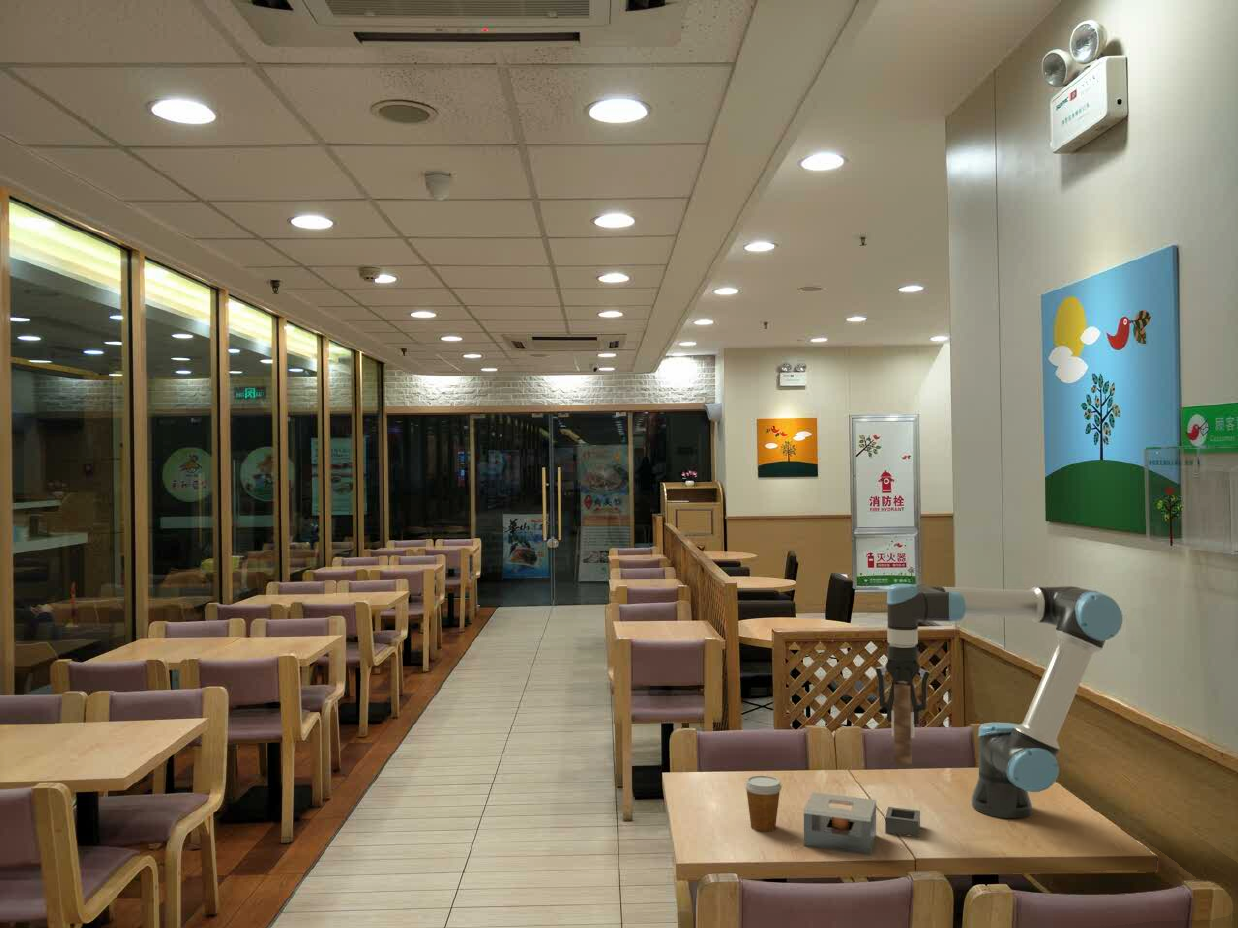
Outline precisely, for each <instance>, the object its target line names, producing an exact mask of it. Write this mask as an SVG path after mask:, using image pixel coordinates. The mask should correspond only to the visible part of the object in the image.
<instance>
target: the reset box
mask: <svg viewBox="0 0 1238 928" xmlns="http://www.w3.org/2000/svg"><path fill="white" fill-rule="evenodd" d="M831 804H835V805H844V806H851V809H846V808H845V809H844V808H836V807H830V805H831ZM831 817H837V818H845V819H850V830H844V829H837V828H831ZM876 837H877V799H872V798H871V799H870V798H864V797H863V798H862V797H853V796H846V795H839V794H837V795H836V794H831V793H830V794H829V793H821V792H815V791H813V792H811V794H810V797H809V799H808V800H807V802H806V804H805V806H804V808H803V847H810V848H816V849H817V848H818V849H825V850H830V851H831V850H832V851H838V852H839V851H840V852H845V853H852V854H860V855H865V856H866V855H867V856H871V855H872V852H873V848H874V844H875V842H876Z"/></svg>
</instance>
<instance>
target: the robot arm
mask: <svg viewBox="0 0 1238 928" xmlns="http://www.w3.org/2000/svg"><path fill="white" fill-rule="evenodd" d="M886 608H887V609H886V611H887V612H886V613H887V617H886V618H887V628H886V629H887V630H886V632H887V634H886V635H887V639H886V640H887V643H888V645H887V646H886V647H887V651H886V652H887V661H886V663H885V665H884V666H877V667H876V669H875V673H876V676H877V677H878V694H879V695H878V698H879V700H878V701H879V707H881V708H884V709H886V720H887V722H888V723H891V737H894V684H897V682H898V681H899V682H907V683H908V685H910V686H911V704H912V710H911V738H912V739H914V738H915V725H919V723H920V712H922V711H925V710H926V709H927V693H928V679H929V677H930V673H931V672H930V670H929V669H927V670H925V669H923V668H922V667H920V664H919V655H918V654H919V650H918V649H919V648H918V646H917V645H918V641H919V633H918V632H919V629H918V628H919V626H918V625H919V624H918V623H919V622H949V623H950V622H956V621H957V622H958V621H962V619H964V618H965V616H975V617H994V618H995V617H996V618H997V617H998V618H1013V619H1014V618H1015V619H1030V620H1031V621H1032V622H1033V623H1044V624H1047V625H1053V626H1055V630H1054V631H1055V635H1056V637H1057V642H1056V643H1055V646H1054V649H1053V650H1052V653H1051V656H1050V658H1049V660H1048V663H1047V665H1046V668H1045V670H1044V672H1043V674H1042V677H1041V679H1040V682H1039V684H1038V686H1037V689H1036V691H1035V694H1034V696H1033V698H1032V701H1031V703H1030V705H1029V708H1028V711H1027V712H1026V715H1025V716H1024V720H1023V722H1022V723H1021V724H1020V723H1019V724H1017V723H1010V722H985V723H983V724H981V725H980V726H979V727H978V735H977V738H978V741H977V742H978V746H977V748H978V752H977V753H978V779H977V782H976V785H975V787H974V790H973V792H972V796H971V807H972V808H973V809H974V810H976V812H977V811H978V812H980V813H982V814H984V815H987V816H992V817H997V818H1002V819H1022V818H1026V817H1030V816H1031V815H1032V811H1033V810H1032V808H1033V807H1032V802H1031V797H1030V796H1029V793H1040V792H1042V791H1045V790H1048V789H1049V788H1050V787H1052V786H1053V785H1054V784H1055V782H1056V781H1057V779H1058V777H1059V774H1060V773H1059V772H1060V768H1059V765H1058V764H1059V763H1058V760H1057V759H1056V758H1057V756H1058V753H1059V751H1060V749H1061V748H1060V745H1059V743H1058V740H1057V739H1058V736H1059V735H1060V731H1061V729H1062V727H1063V725H1064V722H1065V720H1066V718H1067V715H1068V712H1069V710H1070V708H1071V705H1072V703H1073V701H1074V698H1075V696H1076V694H1077V690H1078V689H1079V687H1080V684H1081V682H1082V679H1083V677H1084V674H1085V673H1086V670H1087V668H1088V666H1089V663H1090V661H1091V659H1092V657H1093V655H1094V654H1095V653H1098V652H1101V651H1102V649H1103V648H1104V645H1105V642H1106V641H1107V640H1110V639H1112V638H1114V637H1116V635H1118V633H1119V632H1120V630H1122V629H1121V628H1122V625H1123V613H1122V610H1121V608H1120V605H1119V604H1118V603H1117V601H1116V600H1114V598H1112V597H1111V596H1109V595H1107V594H1104V593H1102V592H1101V591H1100V592H1099V591H1097V590H1091V589H1086V588H1082V587H1079V586H1070V585H1069V586H1040V587H1039V586H1033V587H1032V588H1030V589H1029V590H1028V589H1026V590H1025V589H1003V588H984V587H983V588H981V587H979V588H978V587H961V586H960V587H959V586H958V587H956V586H934V585H931V586H930V585H925V584H921V583H919V584H918V583H917V584H911V583H892V584H890V585H888V587H887V595H886ZM886 671H887V672H888V674H889V675H890V677H892V681H891V687H890V691H889V696H888V700H887V701H886V688H885V685H886V683H885V675H886ZM918 674H919V677H920V678H921V688H920V689H921V690H920V693H921V694H920V704H919V702H918V696H917V692H916V688H915V683H914V682H915V681H914V678H915V677H916V675H918ZM1028 792H1029V793H1028Z"/></svg>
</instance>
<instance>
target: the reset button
mask: <svg viewBox="0 0 1238 928" xmlns="http://www.w3.org/2000/svg"><path fill="white" fill-rule="evenodd" d="M831 828H837V829H844V830H850V819H845V818H837V817H831Z"/></svg>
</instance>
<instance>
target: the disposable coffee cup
mask: <svg viewBox="0 0 1238 928" xmlns="http://www.w3.org/2000/svg"><path fill="white" fill-rule="evenodd" d="M744 788H745V790H746V796H747V805H748V812H749V814H748V815H749V822H750V828H751V829H753V830H754V831H757V832H764V833H765V832H772V831H774V830H775V829H776V827H777V815H778V808H779V800H780V793H781V789H782V784H781V781H780V779H779V778H777V777H773V776H770V775H751V776H749V777H748V778H746V780H745V782H744Z"/></svg>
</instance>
